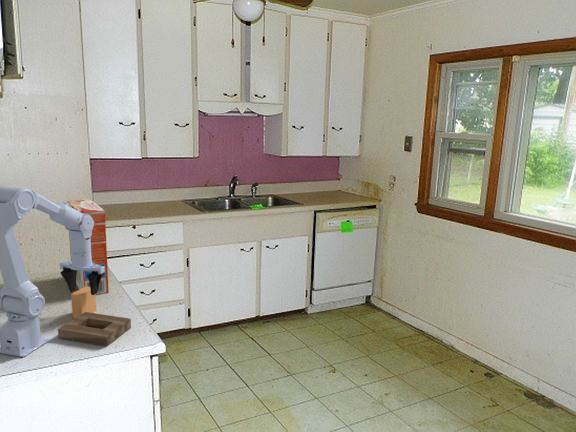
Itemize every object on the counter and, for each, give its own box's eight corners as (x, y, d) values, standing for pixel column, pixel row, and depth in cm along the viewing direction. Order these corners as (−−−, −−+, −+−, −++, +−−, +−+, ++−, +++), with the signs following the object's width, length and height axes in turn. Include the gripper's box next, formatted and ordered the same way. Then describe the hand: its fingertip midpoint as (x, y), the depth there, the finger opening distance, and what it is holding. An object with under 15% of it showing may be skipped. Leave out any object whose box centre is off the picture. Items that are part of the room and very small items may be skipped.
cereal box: (108, 292, 164) (104, 210, 158) (84, 297, 160) (79, 212, 153) (93, 273, 183) (90, 199, 176) (71, 276, 178) (66, 200, 172)
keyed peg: (96, 310, 150) (95, 287, 148) (82, 319, 143) (81, 295, 141) (87, 309, 150) (85, 286, 149) (72, 318, 144) (71, 294, 142)
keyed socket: (107, 346, 127) (106, 336, 127) (58, 338, 131) (57, 328, 130) (131, 327, 139) (130, 318, 138) (85, 320, 142) (85, 311, 142)
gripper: (109, 249, 144) (111, 290, 147) (69, 245, 148) (72, 285, 151) (95, 256, 138) (98, 298, 141) (53, 251, 141) (56, 293, 144)
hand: (83, 292), depth 145 cm, fingers open, 7 cm apart
